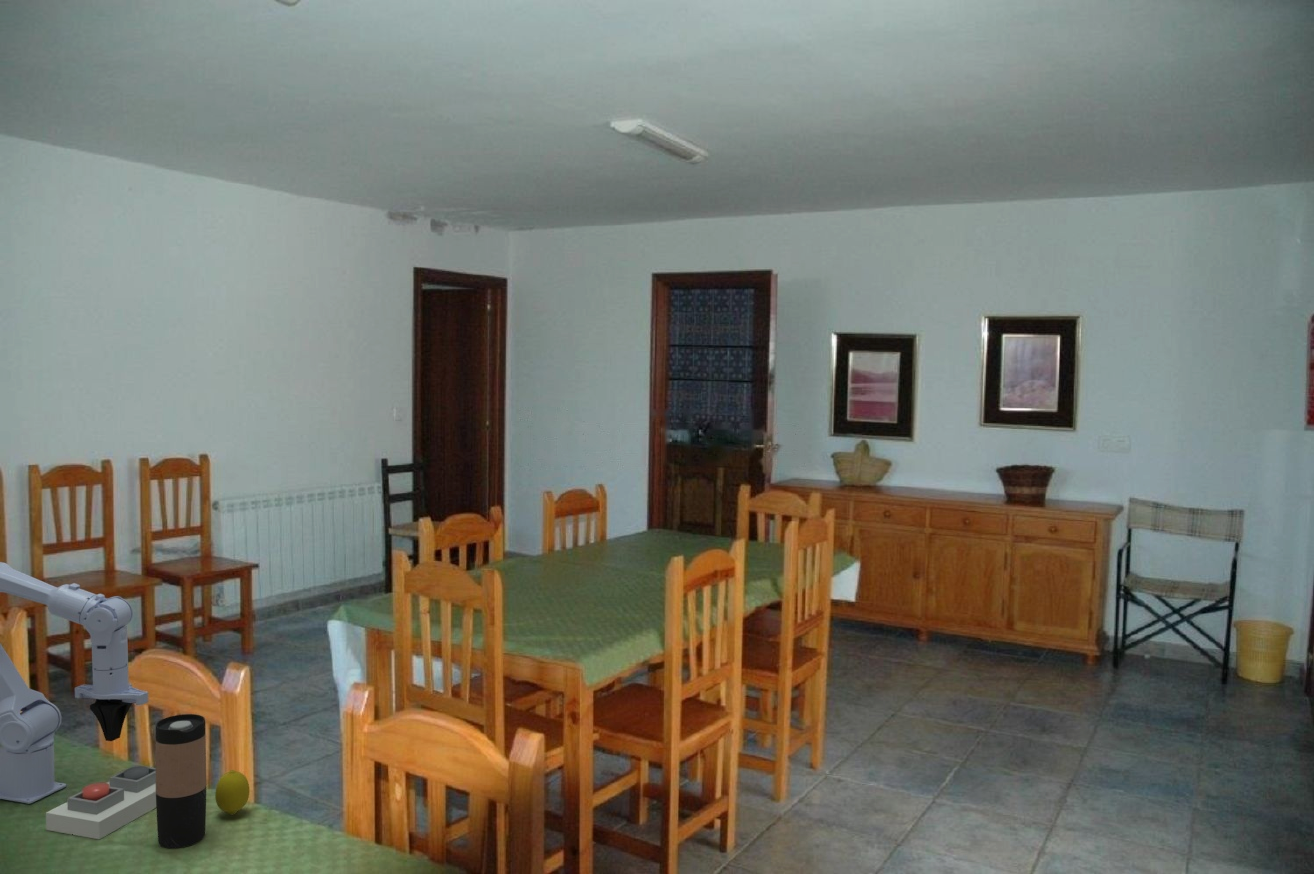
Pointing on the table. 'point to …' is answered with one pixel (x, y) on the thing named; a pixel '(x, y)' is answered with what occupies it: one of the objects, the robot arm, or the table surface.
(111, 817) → the button panel
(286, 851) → the table surface
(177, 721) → the travel mug
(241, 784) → the lemon
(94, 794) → the red button
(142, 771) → the grey button
